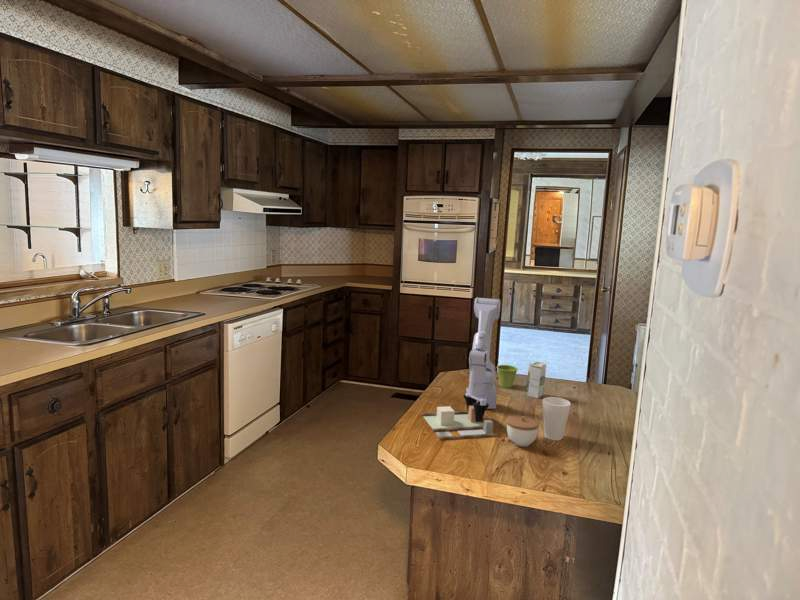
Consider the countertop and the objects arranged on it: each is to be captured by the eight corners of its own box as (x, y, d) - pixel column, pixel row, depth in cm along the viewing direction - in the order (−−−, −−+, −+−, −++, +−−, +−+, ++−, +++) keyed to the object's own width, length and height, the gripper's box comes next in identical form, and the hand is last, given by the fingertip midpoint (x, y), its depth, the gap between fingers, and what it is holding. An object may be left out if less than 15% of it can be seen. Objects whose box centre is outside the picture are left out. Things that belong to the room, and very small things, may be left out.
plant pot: (518, 385, 253) (519, 366, 252) (513, 390, 245) (515, 371, 243) (498, 381, 257) (499, 363, 256) (493, 387, 249) (494, 368, 247)
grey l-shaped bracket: (488, 431, 197) (489, 418, 196) (494, 436, 192) (495, 423, 192) (456, 433, 194) (457, 420, 193) (461, 438, 189) (462, 425, 189)
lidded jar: (540, 440, 192) (542, 414, 190) (533, 452, 182) (536, 425, 181) (509, 434, 196) (511, 408, 195) (501, 445, 186) (503, 418, 185)
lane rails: (472, 415, 213) (472, 410, 213) (497, 439, 191) (497, 434, 191) (420, 417, 208) (420, 413, 208) (439, 443, 186) (439, 438, 186)
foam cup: (552, 443, 189) (555, 407, 187) (534, 433, 197) (537, 398, 195) (573, 439, 194) (576, 404, 192) (554, 430, 202) (557, 395, 200)
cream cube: (449, 419, 205) (449, 406, 204) (453, 424, 200) (454, 411, 199) (436, 419, 204) (437, 406, 203) (440, 425, 199) (441, 411, 198)
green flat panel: (472, 415, 212) (473, 400, 211) (486, 428, 199) (487, 413, 198) (422, 418, 206) (423, 403, 206) (433, 432, 194) (434, 415, 193)
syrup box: (530, 392, 243) (533, 360, 241) (543, 395, 240) (546, 363, 238) (525, 395, 239) (528, 363, 236) (538, 399, 235) (541, 366, 233)
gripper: (459, 376, 208) (457, 411, 210) (474, 388, 194) (471, 425, 197) (477, 376, 210) (474, 410, 212) (492, 388, 196) (490, 424, 198)
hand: (474, 417), depth 204 cm, fingers open, 7 cm apart
